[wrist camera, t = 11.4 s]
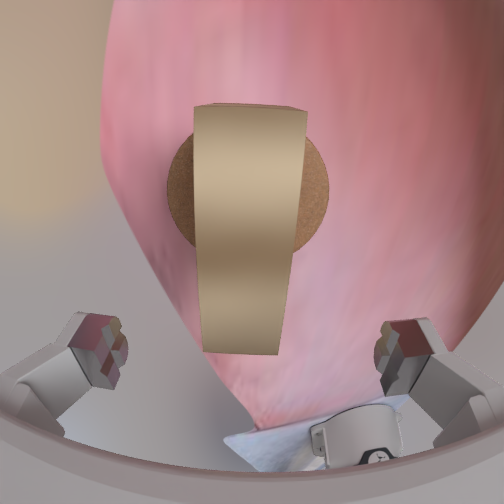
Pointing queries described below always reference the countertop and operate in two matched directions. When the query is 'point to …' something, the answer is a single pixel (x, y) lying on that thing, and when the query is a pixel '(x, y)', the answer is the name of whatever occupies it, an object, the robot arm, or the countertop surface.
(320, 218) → the lidded jar
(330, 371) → the countertop surface
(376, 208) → the countertop surface
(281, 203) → the beech block
